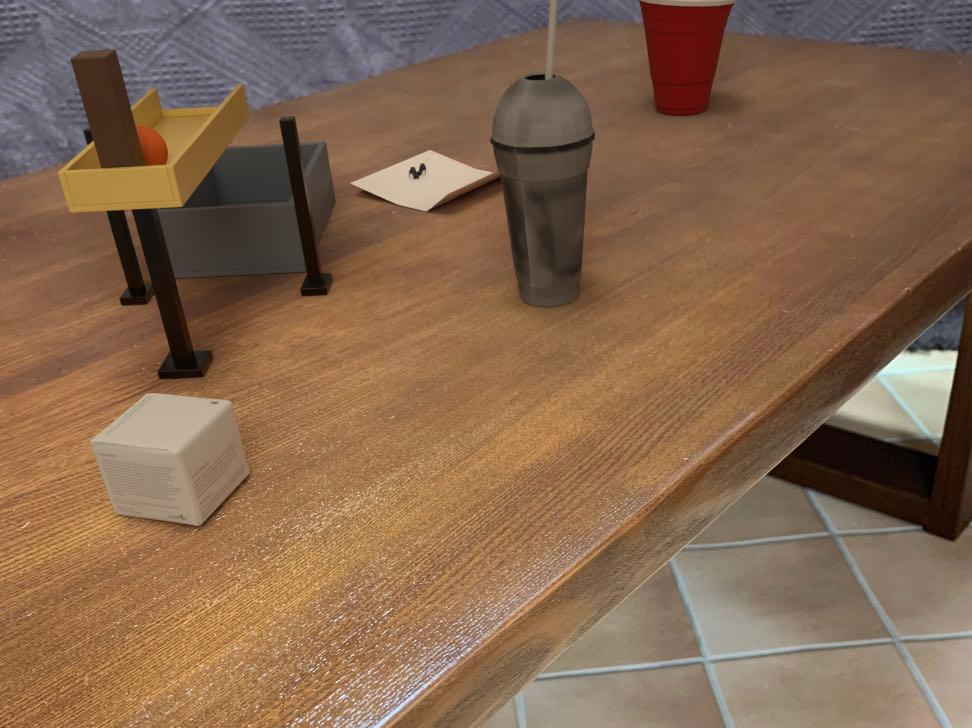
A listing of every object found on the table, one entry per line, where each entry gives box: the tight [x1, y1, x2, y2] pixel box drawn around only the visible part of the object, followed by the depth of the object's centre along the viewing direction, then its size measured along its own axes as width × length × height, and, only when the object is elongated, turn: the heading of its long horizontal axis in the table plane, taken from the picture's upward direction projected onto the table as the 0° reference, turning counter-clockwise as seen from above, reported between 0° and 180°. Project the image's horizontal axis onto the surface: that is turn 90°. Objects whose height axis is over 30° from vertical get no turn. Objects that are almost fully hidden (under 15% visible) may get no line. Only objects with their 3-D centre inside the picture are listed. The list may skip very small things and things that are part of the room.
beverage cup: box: [489, 0, 596, 308], centre depth 75 cm, size 7×7×20 cm
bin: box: [157, 141, 336, 280], centre depth 92 cm, size 17×11×6 cm, turn 1°
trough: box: [57, 48, 251, 214], centre depth 70 cm, size 20×7×8 cm, turn 1°
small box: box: [89, 392, 251, 527], centre depth 59 cm, size 6×6×5 cm
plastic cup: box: [638, 0, 738, 116], centre depth 118 cm, size 11×11×12 cm
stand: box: [82, 115, 333, 380], centre depth 75 cm, size 16×16×13 cm
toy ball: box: [136, 126, 168, 166], centre depth 67 cm, size 3×3×3 cm
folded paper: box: [349, 149, 501, 212], centre depth 102 cm, size 12×12×2 cm
